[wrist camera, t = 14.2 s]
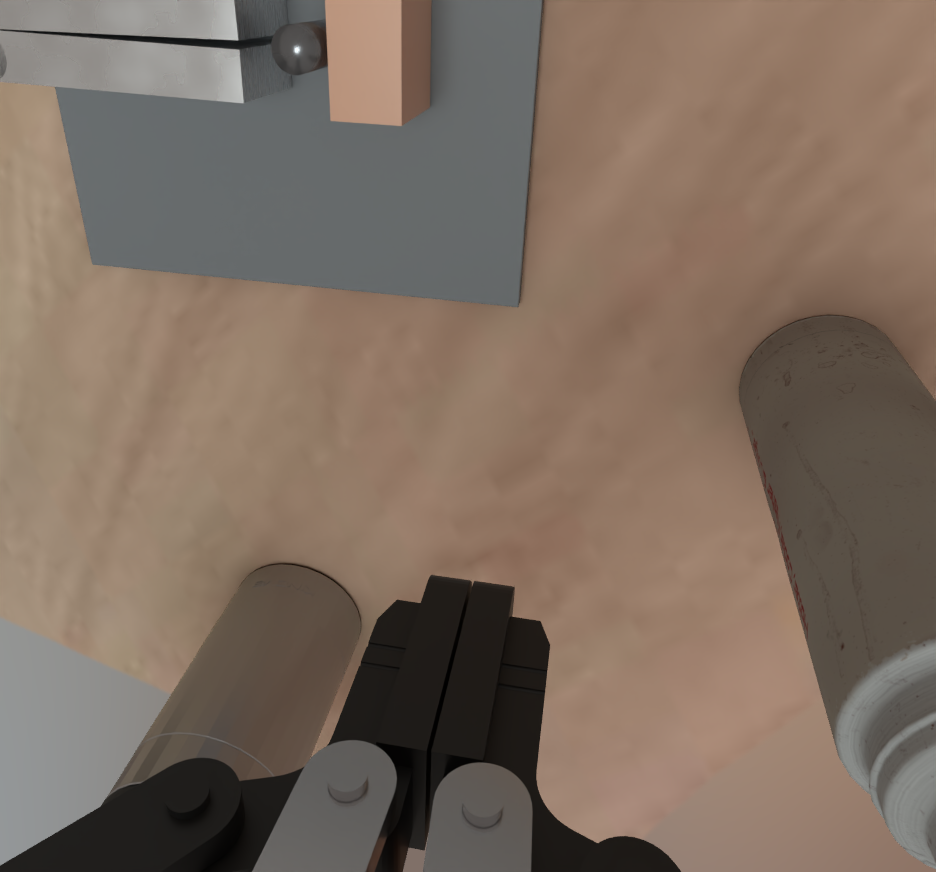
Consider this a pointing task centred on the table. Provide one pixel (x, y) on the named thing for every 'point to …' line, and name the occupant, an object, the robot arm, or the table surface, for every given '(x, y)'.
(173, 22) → the jaw
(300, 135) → the slate board
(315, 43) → the post
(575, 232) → the table surface
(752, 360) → the thermos bottle
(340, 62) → the block
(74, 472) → the table surface
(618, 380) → the table surface
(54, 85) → the bar
